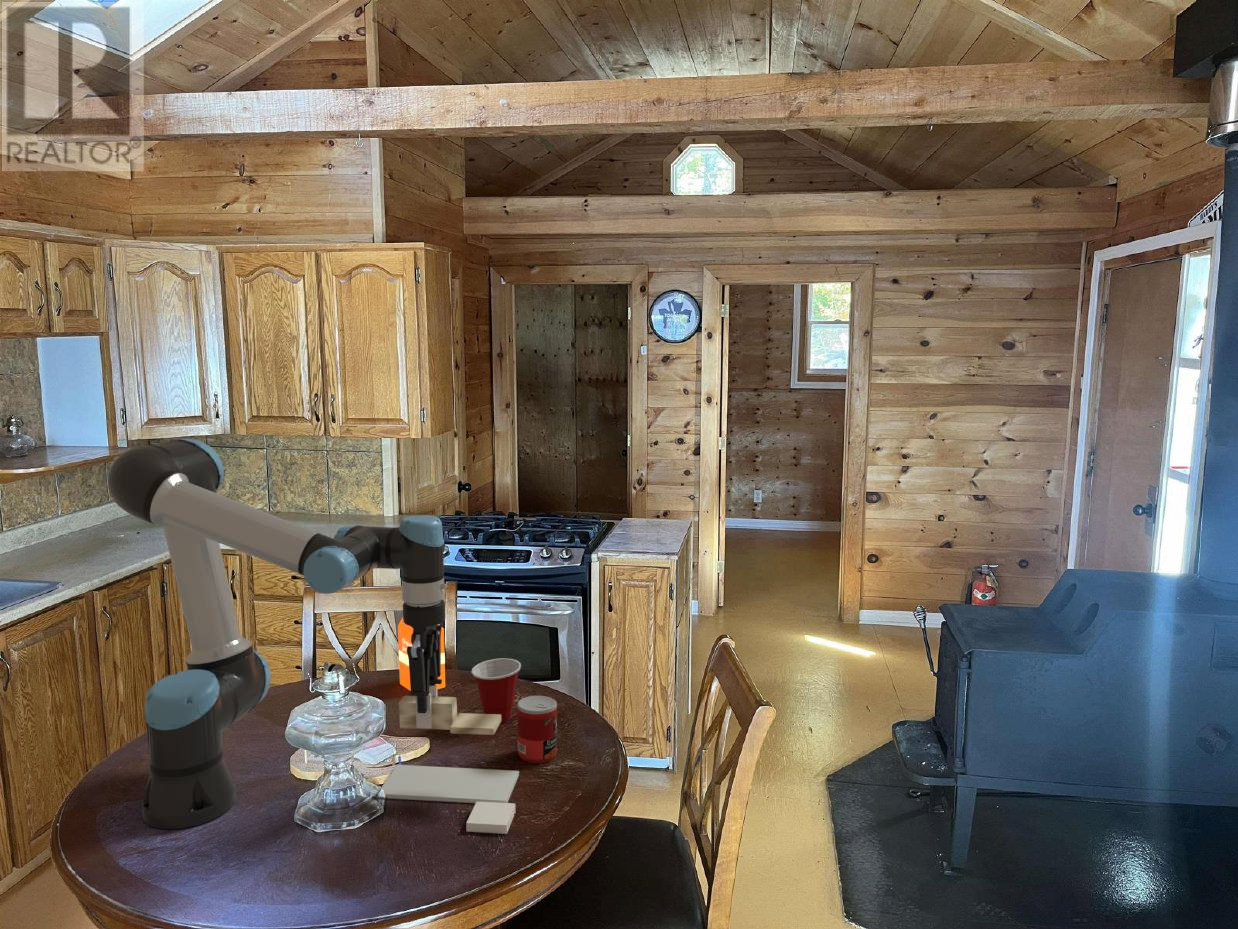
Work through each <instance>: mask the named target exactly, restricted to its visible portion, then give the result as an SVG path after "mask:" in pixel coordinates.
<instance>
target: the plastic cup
mask: <svg viewBox="0 0 1238 929" xmlns="http://www.w3.org/2000/svg"><path fill="white" fill-rule="evenodd" d="M521 667H522V664H521V662H520V661H518V660H516V659H513V658H504V657H502V658H493V659H488V660H484V661H482V662H480V663H477V664H476V665H474V666H473V667H472V668H471V674H472V676H473V677H474V679H475V682H476V684H477V689H478V693H479V698H480V703H481V706H482V711H483V714H501V722H500V724H502V723H506V722H508V721H509V720H511V718H512V714H513V708H514V704H515V699H516V698H515V697H516V691H517V690H516V689H517V682H518V680H519V679H518V678H519V672H520V670H521Z"/></svg>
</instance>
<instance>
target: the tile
mask: <svg viewBox="0 0 1238 929" xmlns="http://www.w3.org/2000/svg"><path fill="white" fill-rule="evenodd" d="M516 809H517V808H516V803H513V802H512V803H511V802H508V803H495V802H476V803H474V806H473V808H472V811H471V813H470V814H469V817H468V819H467V820H466V826H465V827H466V832H468V833H470V832H473V833H486V834H487V833H489V834H503V835H504V834H505V835H507V834H508V832H509V829H510V826H511V824H512V822H513V819H514V817H515V815H514V814H516Z"/></svg>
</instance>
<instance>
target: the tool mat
mask: <svg viewBox="0 0 1238 929" xmlns="http://www.w3.org/2000/svg"><path fill="white" fill-rule="evenodd" d="M519 776H520V771H519V770H508V769H489V768H471V767H469V768H468V767H467V768H466V767H450V766H447V767H446V766H432V765H431V766H430V765H411V764H410V765H408V764H396V766H395V767H394V769H393V770H392V772H391V773H390V775H389V776H388V778H387V779H386V780H385V782H384V783H383V785H382V786H381V788H380V789H383V790H384V794H385V796H386V797H387V798H386V799H394V800H395V799H396V800H410V801H411V800H413V801H414V800H415V801H429V802H431V801H432V802H446V803H447V802H451V803H463V804H464V803H465V804H466V803H469V804H476V802H495V803H509V800H510V797H511V796H512V794H513V790H514V788H515V786H516V783H517V781H518V778H519Z"/></svg>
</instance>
